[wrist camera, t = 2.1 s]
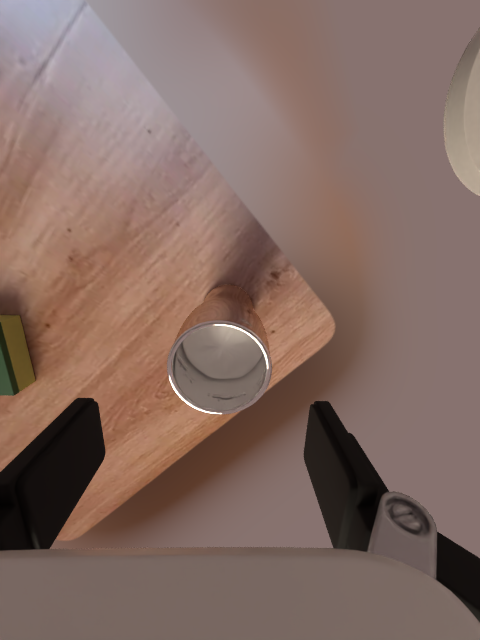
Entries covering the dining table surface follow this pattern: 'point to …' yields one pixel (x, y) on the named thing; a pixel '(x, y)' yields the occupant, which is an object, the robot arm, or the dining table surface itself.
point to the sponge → (14, 357)
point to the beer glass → (221, 354)
